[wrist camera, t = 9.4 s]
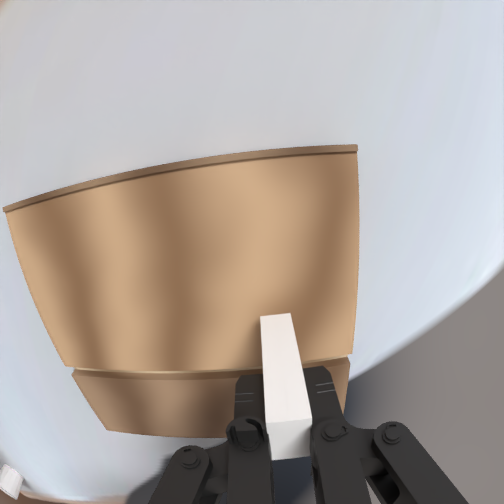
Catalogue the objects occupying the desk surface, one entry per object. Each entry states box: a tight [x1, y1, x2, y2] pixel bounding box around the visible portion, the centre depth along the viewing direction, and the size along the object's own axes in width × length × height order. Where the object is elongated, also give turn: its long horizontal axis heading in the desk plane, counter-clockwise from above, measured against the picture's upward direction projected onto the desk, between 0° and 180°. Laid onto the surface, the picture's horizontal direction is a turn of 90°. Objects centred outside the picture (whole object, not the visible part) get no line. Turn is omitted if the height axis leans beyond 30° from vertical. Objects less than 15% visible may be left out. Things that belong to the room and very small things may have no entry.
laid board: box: [72, 354, 350, 438], centre depth 19 cm, size 20×7×1 cm, turn 96°
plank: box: [3, 144, 359, 371], centre depth 15 cm, size 20×12×1 cm, turn 96°
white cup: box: [0, 464, 24, 499], centre depth 31 cm, size 7×7×7 cm
